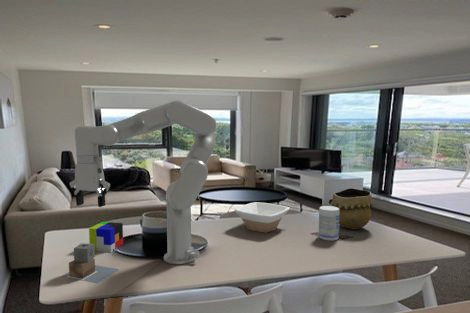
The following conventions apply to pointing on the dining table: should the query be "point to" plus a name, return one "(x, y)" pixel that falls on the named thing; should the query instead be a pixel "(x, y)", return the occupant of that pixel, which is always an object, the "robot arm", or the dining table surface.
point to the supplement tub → (328, 223)
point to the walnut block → (81, 269)
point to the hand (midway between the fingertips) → (90, 205)
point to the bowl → (261, 216)
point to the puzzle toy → (106, 236)
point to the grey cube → (84, 252)
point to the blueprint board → (96, 274)
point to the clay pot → (353, 207)
